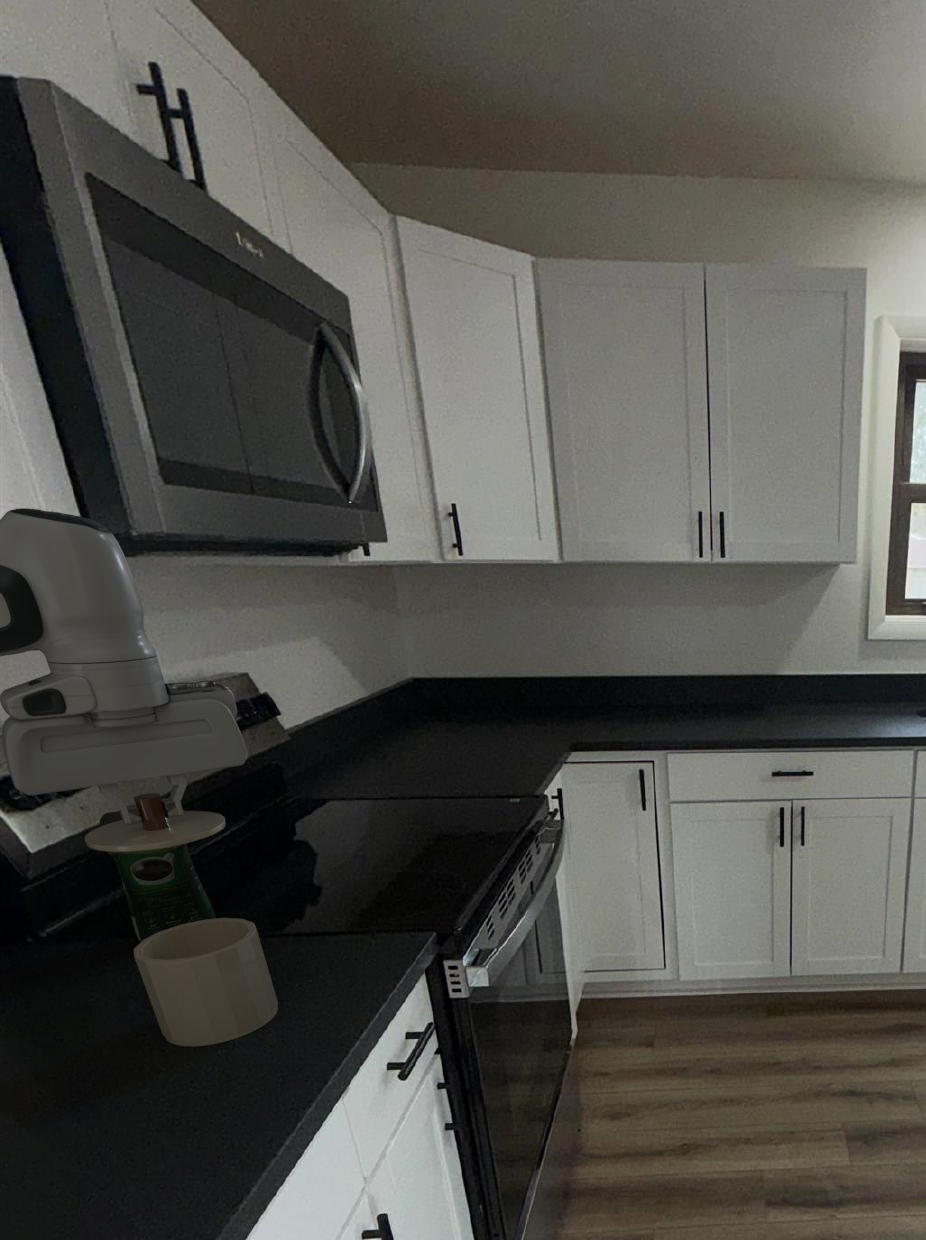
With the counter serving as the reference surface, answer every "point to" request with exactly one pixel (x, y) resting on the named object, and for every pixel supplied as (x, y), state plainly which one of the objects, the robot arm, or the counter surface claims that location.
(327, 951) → the counter surface
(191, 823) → the cream pot lid
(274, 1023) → the counter surface
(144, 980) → the cup
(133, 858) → the coffee jar
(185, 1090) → the counter surface
